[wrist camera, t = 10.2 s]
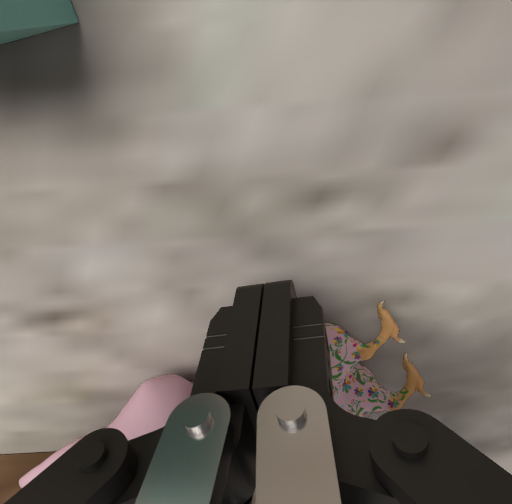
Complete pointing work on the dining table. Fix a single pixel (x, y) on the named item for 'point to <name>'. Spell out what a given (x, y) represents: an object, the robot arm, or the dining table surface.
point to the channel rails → (3, 31)
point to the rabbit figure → (343, 378)
